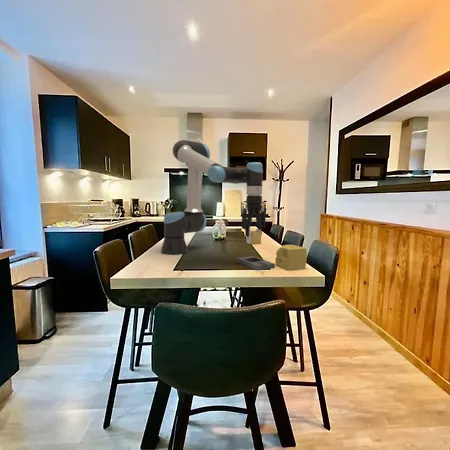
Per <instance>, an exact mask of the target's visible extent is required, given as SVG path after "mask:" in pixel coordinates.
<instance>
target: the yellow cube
mask: <svg viewBox="0 0 450 450" xmlns="http://www.w3.org/2000/svg"><path fill="white" fill-rule="evenodd" d="M246 244H248V245H261V244H262V235H261V232H260V231H256V230H251V244H249V243H246Z"/></svg>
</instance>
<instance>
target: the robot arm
mask: <svg viewBox="0 0 450 450" xmlns="http://www.w3.org/2000/svg"><path fill="white" fill-rule="evenodd" d="M210 152H211V151H210V148H209V147H208V145H206V144H205V143H202V142H200V141H199V142H197V141H193V140H185V139H181V140H178V141H177V142H175V143H174V145H173V147H172V154H173V156H174V158H175V159H176V160H177V161H179V162H181V163H183V164H184V163H185V165H186V167H187V169H188V171H187V191H186V192H187V193H186V208H185V209H184V210H183V211H173V212H167V213H166V214H164V216H163V235H164V237H163V238H164V239H163V242H162V245H161V251H160V253H162V254H164V255H181V254H182V255H183V254H186V253H188V245H187V243H186V240H185V234H190V233H191V234H192V233H198V232H203V230H204V229H205V228H206V225H207V221H208V220H207V217H206V215H205V214H204V210H203V209H202V189H203V174H204V175H206V176H207V177H208V179H209V181H210V182H213V183H217V184H218V183H222V184H223V183H225V184H227V183H228V184H234V185H238V184H246V191H245V192H246V195H247V196H246V199H245V200H246V206H245V207H242V208H240V209H241V229H244V230H245V234H244V235H245V237H246V244H247V243H249V244H248V245H251V231H252V230H251V225H252V221H253V217H255V221H256V226H257V227H256V230H255V231H260V232H261V236H262V233H263V230H264V229H266V221H267V220H266V219H267V218H266V215H267V210H268V209H267V207H263V206H262V203H263V196H262V195H263V174H264V169H263V164H262V163H261V162H256V161H255V162H248V163H247V164H246V167H240V168H239V167H230V166H223V165H222V164H219V163H218V162H216V161H214V160H212V159H211V153H210Z"/></svg>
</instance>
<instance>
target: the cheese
mask: <svg viewBox="0 0 450 450" xmlns="http://www.w3.org/2000/svg"><path fill="white" fill-rule="evenodd" d="M307 252H308V251H307V248H306V247H303V246H299V245H295V244H284V245H282V246H280V247H279V248H278V249H277V250H276V254H275V255H276V258H275V263H274V264H275V267H278V268H279V267H280V268H281V269H284V270H286V271H295V270H303V269H306V265H307V257H308V256H307Z"/></svg>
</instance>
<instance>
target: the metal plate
mask: <svg viewBox="0 0 450 450" xmlns="http://www.w3.org/2000/svg"><path fill="white" fill-rule="evenodd" d="M236 262H237V263H239V264H241V265H244V266H246V267H248V268H251V269H253V270H256V271H264V270H270V269H275V268H276V263H273V262H271V261H268V260H266V259H263V258H259V257H257V256H255V255H250V256H244V257H243V256H242V257H236Z"/></svg>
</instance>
